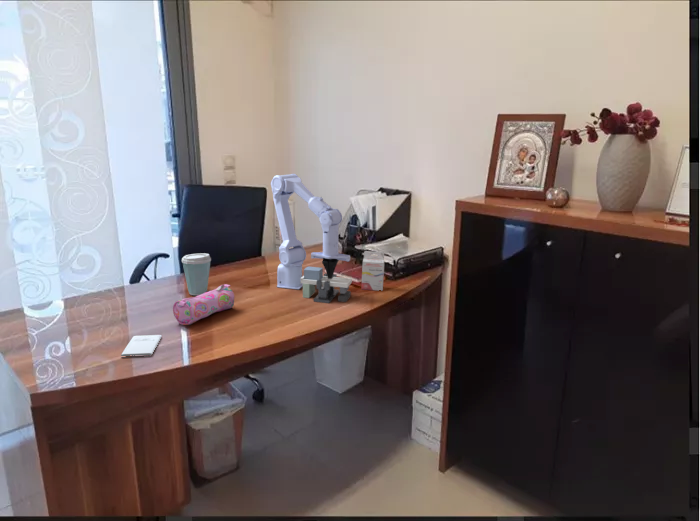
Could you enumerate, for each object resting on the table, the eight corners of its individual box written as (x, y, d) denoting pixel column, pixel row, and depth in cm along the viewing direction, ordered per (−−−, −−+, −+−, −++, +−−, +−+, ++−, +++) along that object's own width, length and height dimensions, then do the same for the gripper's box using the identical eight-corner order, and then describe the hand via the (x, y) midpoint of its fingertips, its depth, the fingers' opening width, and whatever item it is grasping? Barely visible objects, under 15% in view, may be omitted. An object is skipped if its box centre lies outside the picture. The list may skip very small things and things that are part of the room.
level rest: (302, 297, 187) (302, 283, 185) (308, 291, 193) (308, 278, 192) (309, 298, 186) (309, 284, 184) (315, 292, 192) (315, 278, 191)
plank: (299, 290, 185) (299, 279, 183) (308, 282, 194) (308, 271, 193) (346, 295, 180) (346, 283, 179) (352, 287, 190) (353, 276, 188)
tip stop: (338, 301, 183) (338, 296, 183) (343, 295, 190) (343, 290, 189) (345, 302, 183) (345, 297, 182) (350, 296, 189) (350, 291, 189)
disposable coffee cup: (177, 295, 186) (174, 256, 182) (196, 286, 196) (193, 249, 192) (200, 299, 182) (198, 259, 178) (218, 290, 192) (216, 253, 188)
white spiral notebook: (121, 359, 137) (133, 340, 149) (152, 358, 138) (162, 339, 150) (120, 354, 137) (133, 335, 148) (151, 352, 138) (161, 334, 150)
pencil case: (219, 304, 178) (218, 280, 176) (238, 309, 174) (237, 284, 171) (171, 323, 161) (169, 297, 158) (191, 330, 156) (189, 302, 154)
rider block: (303, 279, 186) (303, 269, 185) (307, 276, 190) (307, 266, 189) (319, 281, 185) (319, 271, 184) (322, 277, 189) (322, 267, 188)
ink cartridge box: (361, 289, 196) (362, 253, 192) (362, 285, 201) (363, 250, 197) (382, 291, 196) (384, 254, 192) (383, 287, 200) (384, 251, 196)
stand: (313, 301, 183) (313, 282, 180) (324, 290, 195) (324, 272, 193) (329, 303, 181) (329, 283, 179) (338, 292, 193) (339, 273, 191)
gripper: (308, 243, 180) (308, 279, 183) (346, 246, 176) (346, 283, 180) (314, 239, 186) (314, 274, 190) (351, 242, 183) (351, 277, 187)
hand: (330, 278), depth 185 cm, fingers closed
